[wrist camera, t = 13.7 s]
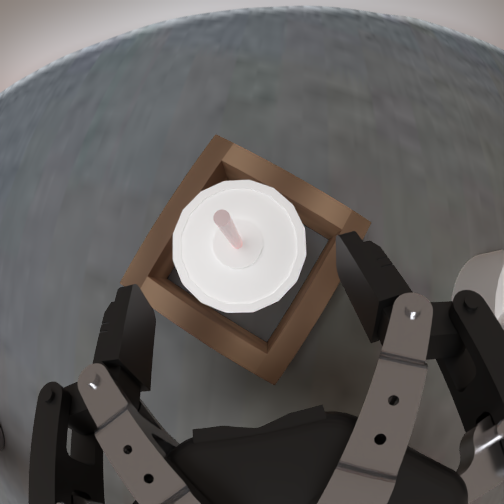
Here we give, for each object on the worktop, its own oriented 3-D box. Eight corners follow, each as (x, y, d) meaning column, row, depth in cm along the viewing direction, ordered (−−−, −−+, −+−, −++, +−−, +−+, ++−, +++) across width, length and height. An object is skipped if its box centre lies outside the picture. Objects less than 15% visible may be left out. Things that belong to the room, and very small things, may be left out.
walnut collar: (142, 284, 22) (119, 283, 18) (223, 158, 23) (215, 134, 19) (273, 368, 21) (274, 385, 17) (354, 233, 22) (371, 222, 18)
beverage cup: (305, 248, 22) (367, 186, 8) (261, 318, 21) (256, 371, 8) (236, 206, 23) (197, 96, 9) (192, 274, 22) (89, 253, 8)
